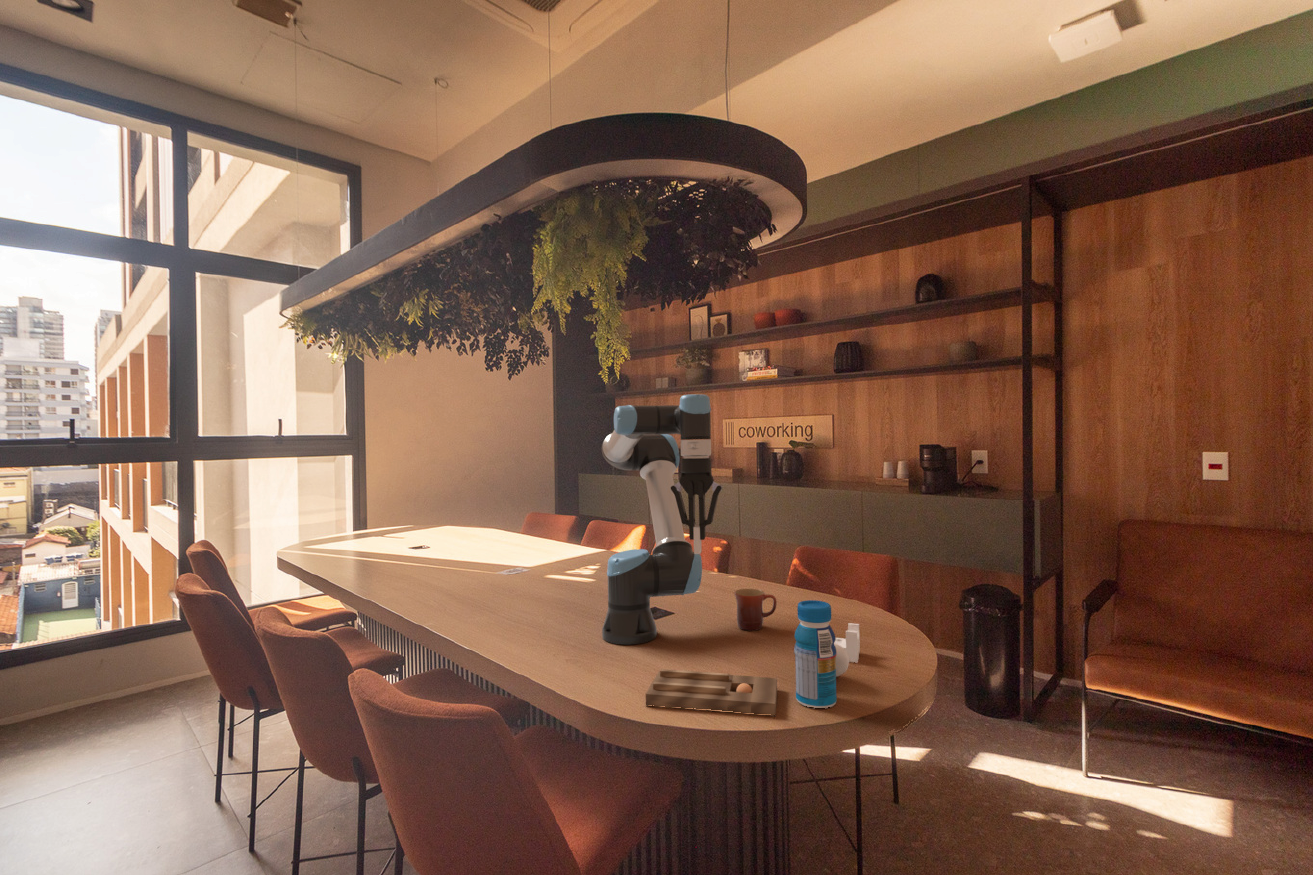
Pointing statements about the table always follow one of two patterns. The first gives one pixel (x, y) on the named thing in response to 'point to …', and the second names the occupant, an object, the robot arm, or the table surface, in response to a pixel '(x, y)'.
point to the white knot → (841, 660)
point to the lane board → (712, 692)
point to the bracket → (851, 642)
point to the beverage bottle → (815, 655)
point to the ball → (744, 688)
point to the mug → (752, 608)
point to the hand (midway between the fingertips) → (697, 552)
